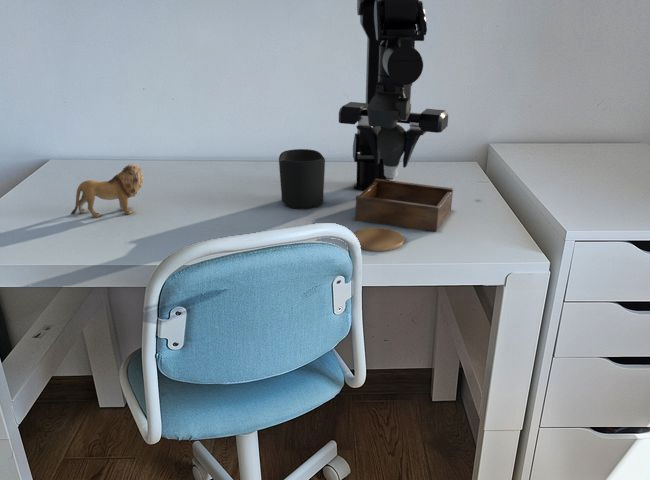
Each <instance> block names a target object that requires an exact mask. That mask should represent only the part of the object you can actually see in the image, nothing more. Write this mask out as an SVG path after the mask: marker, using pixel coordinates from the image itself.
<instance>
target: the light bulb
mask: <svg viewBox="0 0 650 480" xmlns="http://www.w3.org/2000/svg"><path fill="white" fill-rule="evenodd" d="M406 131H407V130H406V129H405V128H404V127H403V126H402V125H400V124H399V123H397V125H396V126H395V127H394V128H386V127H383V128H382V129H381V130H380V131H379V133H378V136H377V145H378V149H379V151H380V153H381V155H382V158H383V163H384V175H385V176H386V177H387V178H388V180H391V181H394V179H395V178H397V176H398V171H399V169H398V168H399V165H400V162H401V161H400V160H401V158H402V156H404V150H405V144H406Z"/></svg>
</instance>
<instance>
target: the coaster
mask: <svg viewBox="0 0 650 480" xmlns="http://www.w3.org/2000/svg"><path fill="white" fill-rule="evenodd" d="M352 233H354V234H355V235H356V237H357V238H358V240H359V242H360V245H361V248H360V249H361V250H365V251H371V252H372V251H373V252H384V251H392V250H395V249H399V248H400V247H401V246H403V244H404V240H405V239H404V236H403V235H402V234H401V233H400V232H398V231H396V230H392V229H389V228H382V227H367V228H362V229H358V230H355V231H353V232H352Z"/></svg>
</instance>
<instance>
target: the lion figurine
mask: <svg viewBox="0 0 650 480" xmlns="http://www.w3.org/2000/svg"><path fill="white" fill-rule="evenodd" d="M143 183H144V178H143V174H142V168H141V167H140V166H137V165H135V164H127V165H126V166H124V167H123V168H122V170H121V171H120V172H119V173H117V174H115V175H114V176H113V177H112V178H111V179H110V180H107V181H98V180H93V179H89V180H88V179H87V180H84V181H82V182H81V183H80V184H79V185H78V187H77V189H76V195H75V205H74V208H73V210H71V212H70V216H72V215H76V214H77V211H78V212H79V213H81V214H83V213H86V212H87V210H88V212H89V213H90V214H91V216H92V217H94V218H99V217H100V213H99V212H96V211H95V210H94V204H95V199H96V197H97V198H99V199H102V200H106V201H113V200H118V203H119V208H120V210H122V211H123V212H124V213H125V214H126V215H131V214H132V210H130V209H129V199H130V198H134V197H136V195H137V194H138V191H139V190H140V189H141V188H142V186H143ZM81 193H82V195H81ZM86 203H87V209H86V208H83V207H84V205H85V204H86Z"/></svg>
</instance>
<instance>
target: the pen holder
mask: <svg viewBox="0 0 650 480" xmlns="http://www.w3.org/2000/svg"><path fill="white" fill-rule="evenodd" d="M278 168H279V180H280V193H281V202H282V204H283V205H284V206H285V207H288V208H291V209H297V210H309V209H315V208H318V207H320V206H321V205H322V204H323V202H324V193H325V192H324V191H325V169H326V158H325V157H324V156H323V154H322V153H321V152H320V151H318V150H315V149H308V148H307V149H306V148H297V149H288V150H285V151H282V152H281V153H280V154H279V157H278Z"/></svg>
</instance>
